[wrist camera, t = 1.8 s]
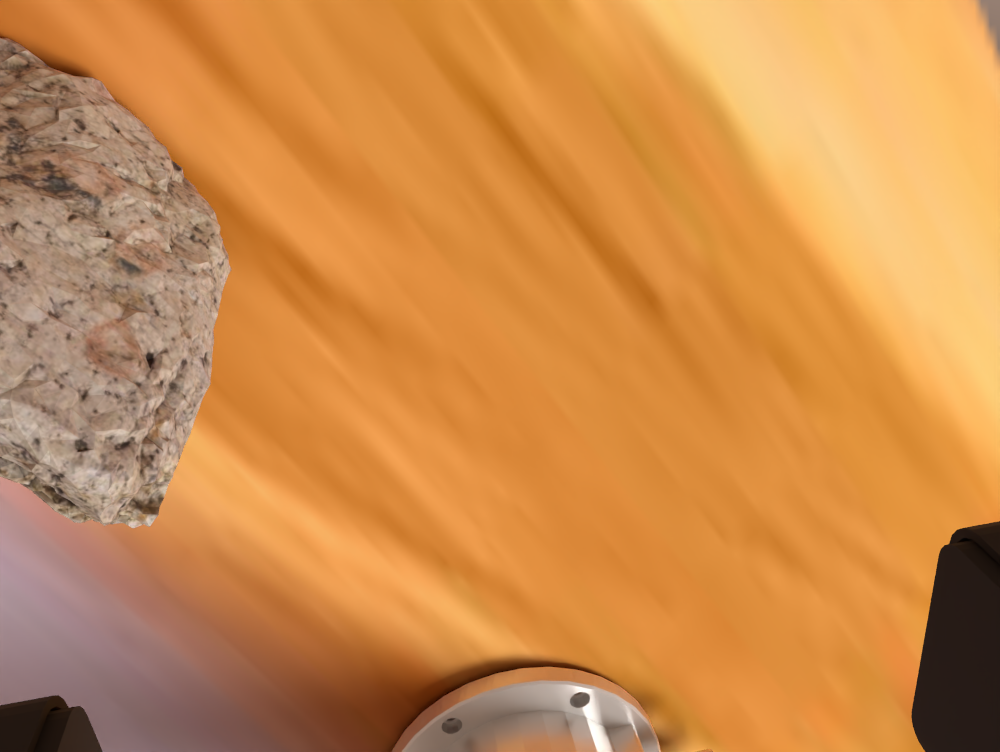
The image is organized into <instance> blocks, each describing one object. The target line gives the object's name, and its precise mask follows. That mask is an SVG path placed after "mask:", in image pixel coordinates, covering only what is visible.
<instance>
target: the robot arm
mask: <svg viewBox="0 0 1000 752" xmlns="http://www.w3.org/2000/svg"><path fill="white" fill-rule="evenodd" d="M912 723H913V727H914V731H915V734H916V736H917V738H918V740H919V742H920V744H921V746H922V747H923V749H924V750H925V752H1000V522H994V523H989V524H983V525H978V526H972V527H967V528H962V529H959V530H956V532H955V533H954V534H953V535H952V537H951V540H950V543H949V544H948V545H944V547H943V548H942V549H941V551H940V554H939V558H938V564H937V569H936V575H935V581H934V587H933V593H932V598H931V604H930V610H929V616H928V621H927V627H926V633H925V639H924V644H923V650H922V656H921V662H920V667H919V673H918V679H917V685H916V690H915V696H914V702H913V708H912ZM0 752H102V749H101V747H100V745H99V742H98V740H97V738H96V735H95V733H94V730H93V728H92V726H91V723H90V721H89V719H88V716H87V714H86V712H85V711H84V709H83V708H82V707H80V706H77V707H71V708H68V706H67V704H66V702H65V701H64V699H63V698H61V697H60V696H49V697H44V698H39V699H33V700H28V701H22V702H17V703H11V704H6V705H1V706H0ZM392 752H661V750H660V746H659V741H658V738H657V735H656V733H655V731H654V728H653V726H652V724H651V721H650V719H649V717H648V715H647V714H646V712H645V711H644V709H643V708H642V707H641V705H640V704H639V703H638V701H637V700H636V699H635V698H634V697H632V696H631V695H630V694H629V693H628V692H626V691H625V690H624V689H623V688H622V687H620V686H618V685H616V684H614V683H612V682H610V681H609V680H607V679H605V678H603V677H601V676H597V675H594V674H590V673H587V672H584V671H580V670H576V669H567V668H558V667H535V668H521V669H516V670H511V671H506V672H501V673H496V674H493V675H490V676H487V677H484V678H481V679H478V680H476V681H473V682H470V683H468V684H466V685H464V686H462V687H460V688H458V689H456V690H454V691H452V692H450V693H449V694H447V695H445V696H443V697H442V698H441V699H439V700H438V701H436V702H435V703H434V704H432V705H431V706H430V707H428V708H427V709H426V710H424V711H423V712H422V713H421V714H420V715H419V716H418V717H417V718H416V719H415V720H414V721H413V722H412V723H411V724H410V725H409V726H408V728H407V729H406V730H405V731H404V733H403V734H402V736H401V737H400V739H399V740H398V742H397V743H396V745H395V746H394V748H393V750H392ZM697 752H713V751H712V750H711V749H707V750H702V751H697Z"/></svg>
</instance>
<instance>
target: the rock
mask: <svg viewBox="0 0 1000 752" xmlns="http://www.w3.org/2000/svg"><path fill="white" fill-rule="evenodd" d="M230 271H231V267H230V265H229V260H228V254H227V252H226V249H225V247H224V245H223V239H222V238H221V236H220V225H219V224H218V222H217V218H216V214H215V212H214V210H213V209H212V208H211V206H210V205H209V203H208V202H207V201H206V200H205V199H204V198H203V197H202V196H201V195H200V194H199V193H198V192H197V190H196V188H195V186H194V185H193V184H191V183H190V182H189V181H188V180H187V179H185V178H184V175H183V170H182V167H180V166H179V165H177V164H176V163H175V162H173V161H172V160H171V159H170V156H169V153H168V151H167V148H166V147H165V146H164V145H163V144H161V143H160V142H159V141H158V140H156V139H155V137H154V135H153V134H152V132H151V131H150V129H149V127H147V126H146V125H145V124H144V123H142V122H141V121H140V120H138V119H137V118H136V117H135V116H134V115H133V114H132V113H131V112H130V111H129V110H127V109H126V108H124V107H123V106H121V105H120V104H118V103H117V102H116V101H115V100H114V98H113V97H112V96H111V94H110V93H109V92H108V90H107V89H106V87H105V86H104V85H103V83H102V82H101V81H99V80H96V79H94V78H90V77H79V76H72V75H70V74H67V73H64V72H61V71H58V70H56V69H53V68H50V67H49V66H48V65H46V64H45V63H44V62H43V61H42V60H40V59H39V58H38V57H36V56H35V55H34V54H32V53H31V52H30V51H28V50H27V49H26V48H24V47H23V46H22V45H21V44H19V43H17V42H15V41H12V40H10V39H8V38H0V477H3V478H6V479H9V480H11V481H14V482H17V483H20V484H22V485H24V486H25V487H27V488H28V489H30V490H32V491H33V492H34V493H35V494H36V495H37V496H38V497H39V498H41V499H42V500H43V501H44V502H46V503H47V504H48V505H49V506H50V507H51V508H52V509H53V510H54V511H56V512H58V513H59V514H61V515H63V516H65V517H67V518H69V519H70V520H72V521H73V522H77V523H82V522H85V521H88V520H91V519H92V520H93V521H96V522H100V523H101V524H103V525H104V526H106V525H108V524H116V523H124V524H126V525H128V526H130V527H132V528H135V527H138V526H141V525H143V524H145V525H147V526H149V527H150V525H151V524H152V523H153V521H154V520H155V519H156V517H157V516H158V513H159V507H160V505H161V503H162V501H163V499H164V496H165V493H166V490H167V487H168V484H169V482H170V481H171V479H172V477H173V473H174V471H175V469H176V466H177V464H178V462H179V459H180V456H181V454H182V451H183V448H184V445H185V443H186V441H187V439H188V437H189V435H190V433H191V430H192V427H193V423H194V420H195V418H196V415H197V413H198V410H199V407H200V404H201V401H202V399H203V396H204V395H205V393H206V391H207V389H208V387H209V386H210V384H211V383H210V376H211V367H212V352H213V344H214V335H213V329H214V325H215V322H216V318H217V315H218V309H219V305H220V301H221V297H222V296H221V295H222V290H223V288H224V285H225V282H226V279H227V277H228V274H229V273H230Z"/></svg>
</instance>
